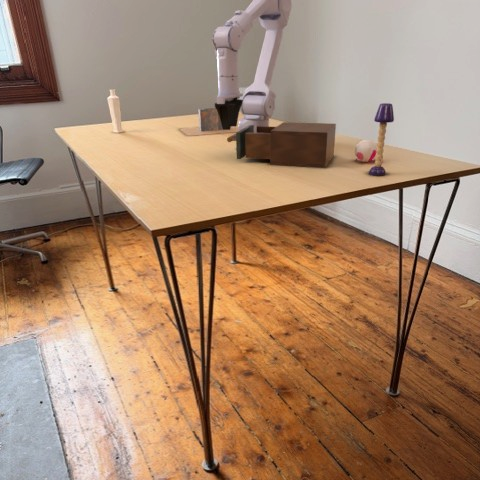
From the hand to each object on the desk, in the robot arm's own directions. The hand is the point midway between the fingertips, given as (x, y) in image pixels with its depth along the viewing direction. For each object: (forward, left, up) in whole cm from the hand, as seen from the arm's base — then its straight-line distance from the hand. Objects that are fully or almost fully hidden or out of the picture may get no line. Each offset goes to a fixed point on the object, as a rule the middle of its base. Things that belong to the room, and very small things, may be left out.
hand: (229, 127), depth 142 cm
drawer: (+9, 0, -7) cm, 12 cm away
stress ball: (+40, +3, -8) cm, 41 cm away
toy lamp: (+44, -10, -8) cm, 46 cm away
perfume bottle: (-58, +33, -8) cm, 67 cm away
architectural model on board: (-22, +44, -8) cm, 49 cm away
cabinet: (+22, 0, -8) cm, 24 cm away
